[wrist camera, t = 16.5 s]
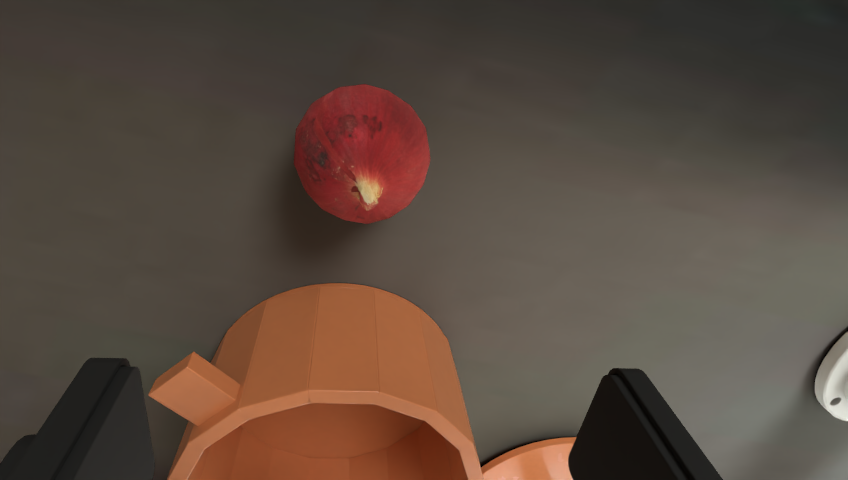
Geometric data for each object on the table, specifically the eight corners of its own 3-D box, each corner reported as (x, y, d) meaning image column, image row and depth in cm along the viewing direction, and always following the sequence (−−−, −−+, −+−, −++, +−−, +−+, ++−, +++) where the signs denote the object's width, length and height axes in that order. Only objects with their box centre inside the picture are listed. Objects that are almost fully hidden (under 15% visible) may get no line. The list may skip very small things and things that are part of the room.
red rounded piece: (281, 147, 24) (251, 217, 17) (340, 45, 22) (333, 77, 15) (380, 203, 26) (389, 285, 19) (441, 114, 24) (475, 170, 17)
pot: (318, 200, 26) (303, 291, 18) (514, 404, 35) (556, 518, 28) (120, 351, 29) (38, 481, 22) (349, 502, 38) (348, 627, 31)
